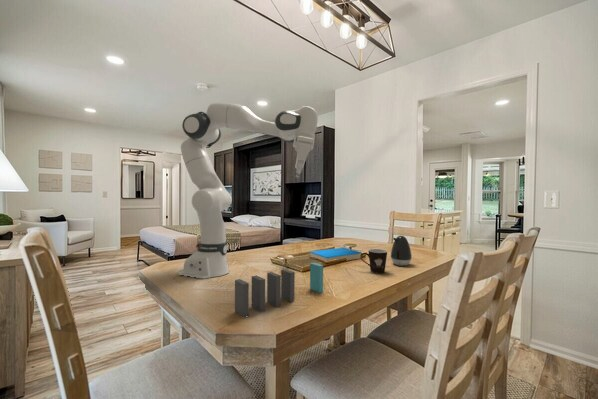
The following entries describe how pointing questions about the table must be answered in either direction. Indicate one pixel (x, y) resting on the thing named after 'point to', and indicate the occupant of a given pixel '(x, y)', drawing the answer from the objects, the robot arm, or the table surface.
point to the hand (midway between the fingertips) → (298, 175)
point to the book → (336, 254)
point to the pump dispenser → (401, 251)
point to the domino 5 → (316, 277)
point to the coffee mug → (376, 260)
